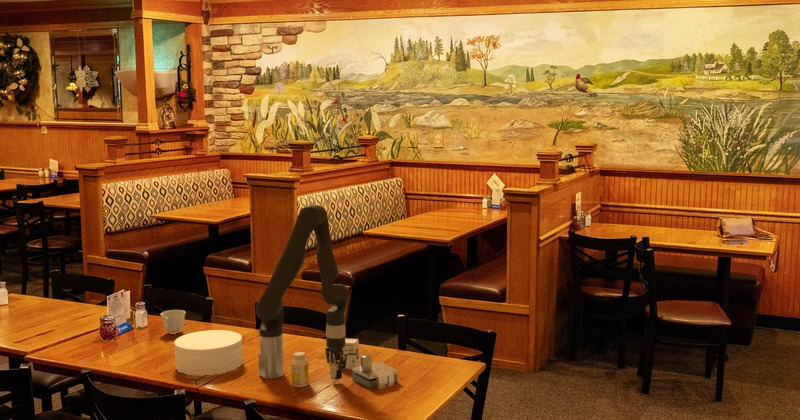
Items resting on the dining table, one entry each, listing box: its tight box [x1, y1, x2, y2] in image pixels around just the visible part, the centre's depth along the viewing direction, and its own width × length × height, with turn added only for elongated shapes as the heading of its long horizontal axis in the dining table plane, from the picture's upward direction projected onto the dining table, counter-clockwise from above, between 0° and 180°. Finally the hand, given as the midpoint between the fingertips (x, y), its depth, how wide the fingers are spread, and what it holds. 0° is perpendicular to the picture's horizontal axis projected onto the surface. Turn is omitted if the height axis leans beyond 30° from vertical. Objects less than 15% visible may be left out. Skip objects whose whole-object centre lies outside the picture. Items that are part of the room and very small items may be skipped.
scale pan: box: [352, 361, 398, 379], centre depth 335 cm, size 13×13×2 cm
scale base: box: [351, 371, 399, 390], centre depth 335 cm, size 13×15×5 cm
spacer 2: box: [359, 354, 373, 373], centre depth 333 cm, size 4×4×6 cm
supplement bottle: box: [290, 351, 310, 388], centre depth 332 cm, size 7×7×13 cm
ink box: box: [338, 337, 360, 370], centre depth 352 cm, size 8×5×12 cm, turn 73°
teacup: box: [160, 309, 187, 333], centre depth 405 cm, size 12×15×10 cm
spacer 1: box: [329, 361, 342, 381], centre depth 334 cm, size 4×4×6 cm
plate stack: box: [173, 329, 244, 376], centre depth 358 cm, size 28×28×12 cm
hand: (336, 376), depth 334 cm, fingers closed on spacer 1, 4 cm apart
